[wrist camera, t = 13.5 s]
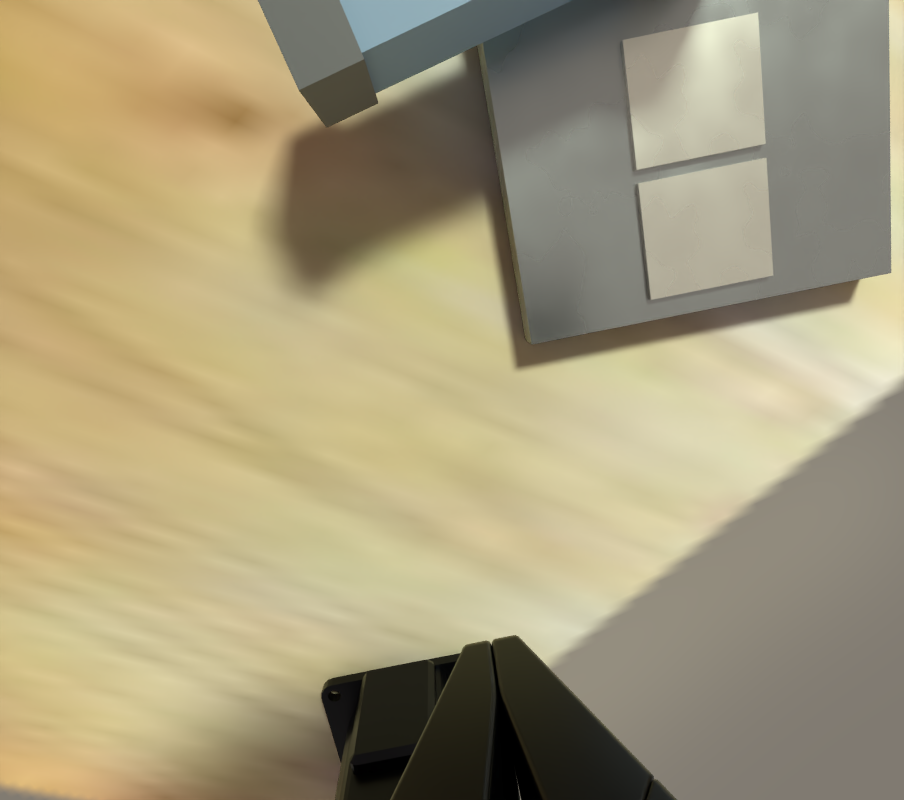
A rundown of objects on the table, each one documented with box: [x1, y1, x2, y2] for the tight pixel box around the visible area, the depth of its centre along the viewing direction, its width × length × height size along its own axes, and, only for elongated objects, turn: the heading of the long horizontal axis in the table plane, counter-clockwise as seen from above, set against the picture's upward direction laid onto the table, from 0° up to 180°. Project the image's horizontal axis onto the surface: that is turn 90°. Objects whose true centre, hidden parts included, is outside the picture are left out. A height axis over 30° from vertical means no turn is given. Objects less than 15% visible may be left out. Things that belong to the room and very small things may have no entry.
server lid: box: [477, 0, 891, 344], centre depth 17 cm, size 12×12×2 cm
